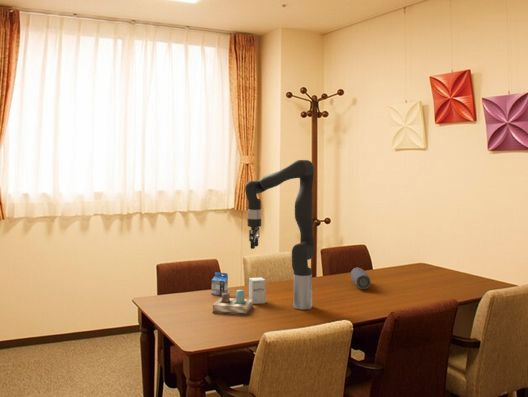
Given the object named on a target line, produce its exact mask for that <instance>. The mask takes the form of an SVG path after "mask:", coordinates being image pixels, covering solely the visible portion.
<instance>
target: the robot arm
mask: <svg viewBox="0 0 528 397" xmlns="http://www.w3.org/2000/svg"><path fill="white" fill-rule="evenodd" d="M314 175H315V167H314V164H313V162H312V161H310V160H308V159H298V160H296V161H294V162H292V163H290V164H289V165H288V166H286V167H284V168H282V169H280V170H278V171H275V172H273V173H270V174H268V175H264V176H263V177H261V179H258V180H250V181H247V183H245V184H246V185H245V187H244V190H245V195H246V199H247V227H249V228H250V229H249V230H248V233H249V235H248V236H249V239H248V241H249V243H250V250H253V249H255V248H256V247H258V246H259V239H260V228H261V227H262V201H261V199H260V198H258V196H257V195H258V194H261V193H263V192H265V191H267V190H269V189H273V188H276V187H278V186H280V185H281V184H283V183H284V182H287V181H289V180H293V179H299V190H298V193H297V194H296V195H297V196H296V198H295V202H294V219H295V223H296V224H297V226H298V229H299V232H300V233H299V234H300V240H299V241H300V243H296V244H294V245H293V247H292V250H291V267H292V268H291V269H292V270H293V304H292V305H293V308H294V309H296V310H312V308H313V288H312V280H313V279H312V278H313V276H312V275H313V273H312V272H313V270H312V268H311V267H309V262H308V261H310V260H311V259H313V258H314V256H315V252H316V251H315V250H316V249H315V240H314V224H313V222H314V220H313V216H314V206H313V204H314V203H313V198H314V197H313V193H314V192H313V188H314V187H313V186H314V177H315V176H314Z"/></svg>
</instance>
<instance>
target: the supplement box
mask: <svg viewBox="0 0 528 397" xmlns="http://www.w3.org/2000/svg"><path fill="white" fill-rule="evenodd" d="M248 299H252V300H253V305H257V304H266V279H265V278H263V277H249V278H248Z"/></svg>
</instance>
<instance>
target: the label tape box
mask: <svg viewBox="0 0 528 397" xmlns="http://www.w3.org/2000/svg"><path fill="white" fill-rule="evenodd" d="M228 289H229V276H228V273H227V272H218V271H215V272H214V276H213V278H212V279H211V290H210V291H211V295H214V296H221V297H222V293H229V292H228V291H229V290H228Z"/></svg>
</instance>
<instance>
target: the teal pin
mask: <svg viewBox="0 0 528 397" xmlns="http://www.w3.org/2000/svg"><path fill="white" fill-rule="evenodd" d="M235 292H236V294H235V296H236V297H235V299H236V304H244V299H245V290H244V289H236V291H235Z"/></svg>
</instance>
